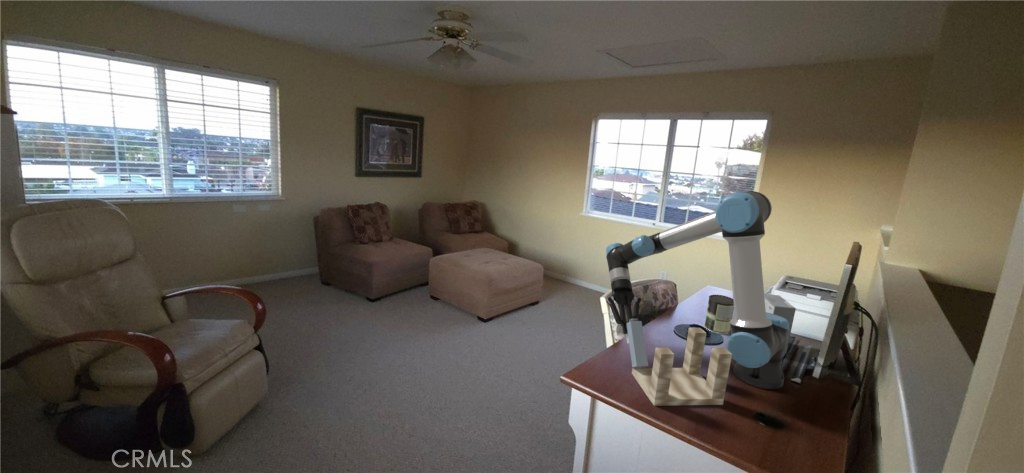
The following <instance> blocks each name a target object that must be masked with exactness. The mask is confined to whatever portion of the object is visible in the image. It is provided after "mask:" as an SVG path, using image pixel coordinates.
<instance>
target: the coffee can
mask: <svg viewBox="0 0 1024 473" xmlns="http://www.w3.org/2000/svg"><path fill="white" fill-rule="evenodd" d="M733 315H734V301H733V297H731V296H726V295H722V294H711V295H709V296H708V302H707V308H706V314H705V320H704V329H705V328H706V329H705V330H707V329H708V330H709V332H710V331H711V333H714V334H717V335H728V334H731V328H730V320H731V319H732V318H734V316H733ZM708 330H707V331H708Z"/></svg>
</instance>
